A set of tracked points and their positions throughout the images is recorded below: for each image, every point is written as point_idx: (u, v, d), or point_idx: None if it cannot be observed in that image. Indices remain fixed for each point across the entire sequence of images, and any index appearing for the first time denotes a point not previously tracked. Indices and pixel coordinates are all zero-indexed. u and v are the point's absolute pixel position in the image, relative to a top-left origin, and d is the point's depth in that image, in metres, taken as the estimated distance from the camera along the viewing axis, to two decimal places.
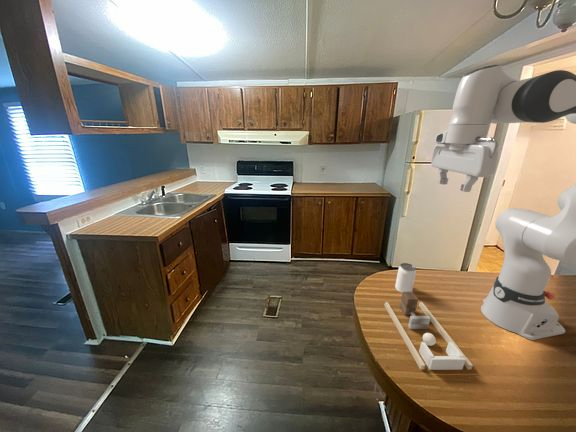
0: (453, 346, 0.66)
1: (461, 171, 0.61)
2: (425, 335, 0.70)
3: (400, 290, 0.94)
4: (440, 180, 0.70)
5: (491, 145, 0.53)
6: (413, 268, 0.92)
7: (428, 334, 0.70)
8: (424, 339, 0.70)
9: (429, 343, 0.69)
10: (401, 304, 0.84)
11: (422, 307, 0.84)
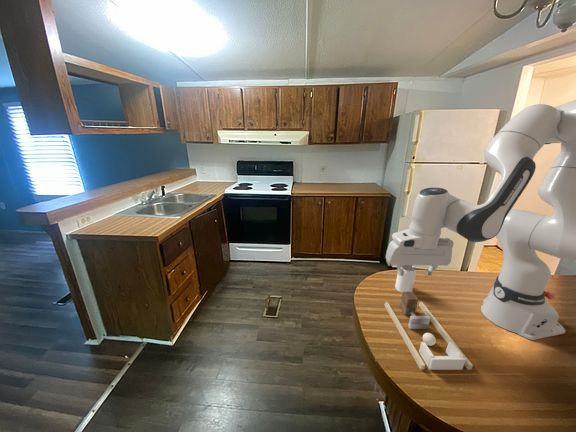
0: (453, 346, 0.66)
1: (432, 264, 0.75)
2: (425, 335, 0.70)
3: (400, 290, 0.94)
4: (401, 273, 0.77)
5: (450, 243, 0.74)
6: (413, 268, 0.92)
7: (428, 334, 0.70)
8: (424, 339, 0.70)
9: (429, 343, 0.69)
10: (401, 304, 0.84)
11: (422, 307, 0.84)
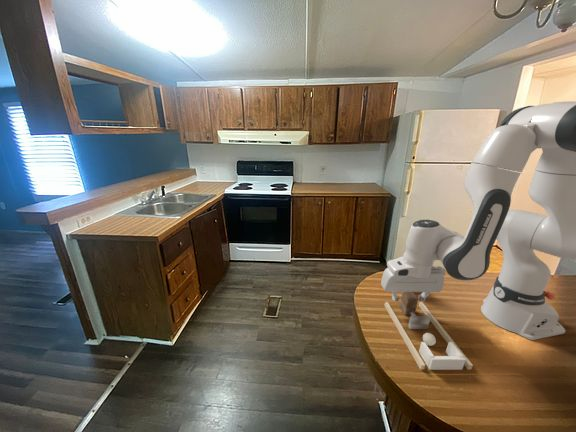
0: (453, 346, 0.66)
1: (425, 291, 0.78)
2: (425, 335, 0.70)
3: None
4: (396, 299, 0.80)
5: (442, 271, 0.77)
6: None
7: (428, 334, 0.70)
8: (424, 339, 0.70)
9: (429, 343, 0.69)
10: (401, 304, 0.84)
11: (422, 307, 0.84)
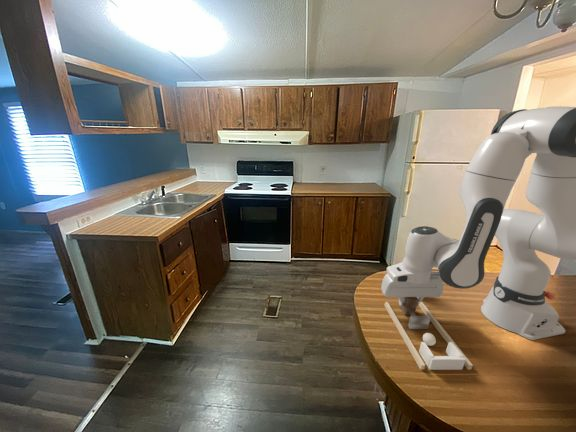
0: (453, 346, 0.66)
1: (424, 296, 0.79)
2: (425, 335, 0.70)
3: None
4: (402, 304, 0.82)
5: None
6: None
7: (428, 334, 0.70)
8: (424, 339, 0.70)
9: (429, 343, 0.69)
10: None
11: (422, 307, 0.84)
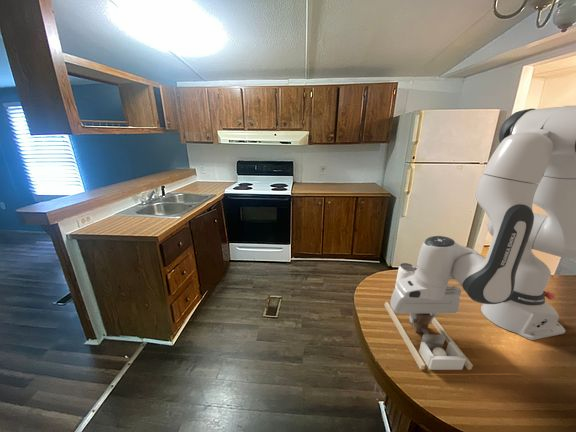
0: (453, 346, 0.66)
1: (438, 312, 0.72)
2: None
3: None
4: (414, 320, 0.74)
5: (458, 291, 0.71)
6: (413, 268, 0.92)
7: None
8: (433, 354, 0.66)
9: None
10: None
11: None
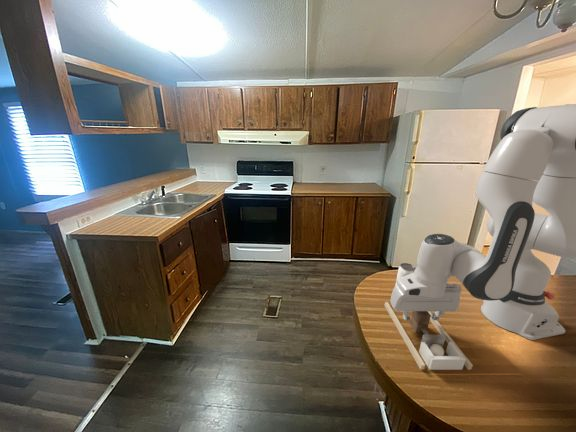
0: (453, 346, 0.66)
1: (438, 310, 0.72)
2: (434, 355, 0.66)
3: None
4: (407, 318, 0.75)
5: (458, 289, 0.71)
6: (413, 268, 0.92)
7: None
8: (431, 351, 0.67)
9: None
10: (411, 320, 0.77)
11: None
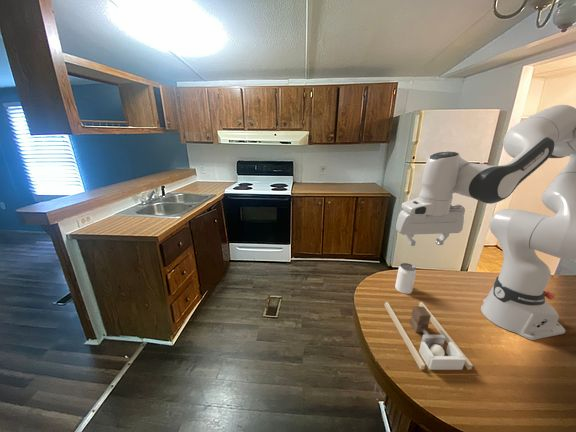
0: (453, 346, 0.66)
1: (443, 232, 0.73)
2: (435, 355, 0.66)
3: (400, 290, 0.94)
4: (412, 243, 0.76)
5: (462, 210, 0.72)
6: (413, 268, 0.92)
7: None
8: (431, 351, 0.67)
9: None
10: (411, 320, 0.77)
11: None
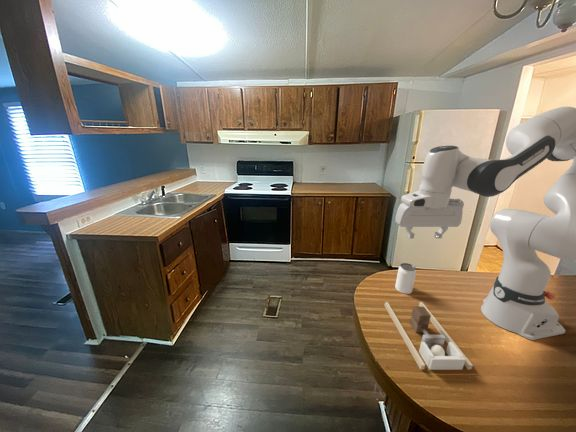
0: (453, 346, 0.66)
1: (442, 225, 0.75)
2: None
3: (400, 290, 0.94)
4: (411, 236, 0.77)
5: (461, 204, 0.74)
6: (413, 268, 0.92)
7: None
8: None
9: None
10: (411, 320, 0.77)
11: None
